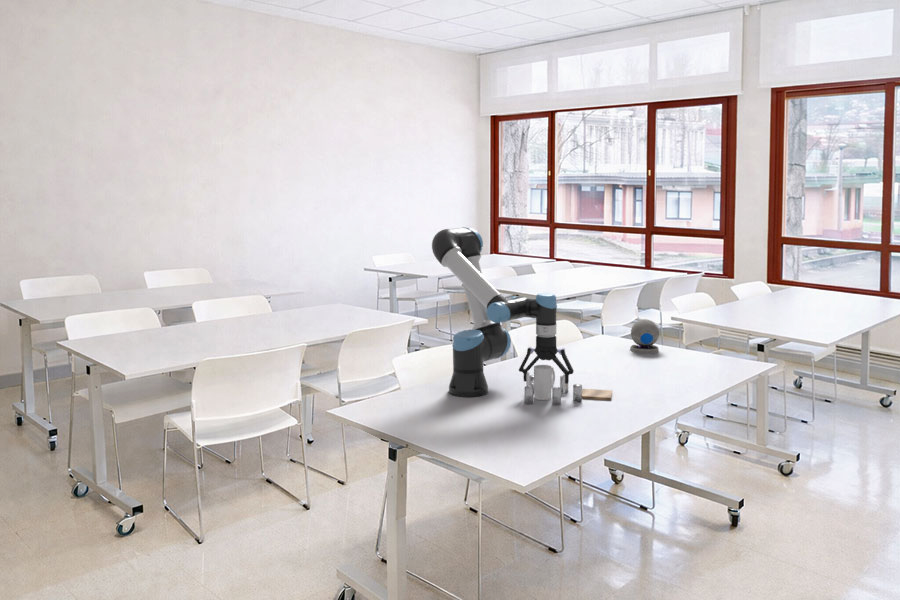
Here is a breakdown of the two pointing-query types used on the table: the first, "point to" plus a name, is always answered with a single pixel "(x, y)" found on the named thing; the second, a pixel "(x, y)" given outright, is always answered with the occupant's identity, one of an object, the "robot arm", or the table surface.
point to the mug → (543, 381)
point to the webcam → (644, 336)
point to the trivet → (596, 394)
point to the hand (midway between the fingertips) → (545, 390)
